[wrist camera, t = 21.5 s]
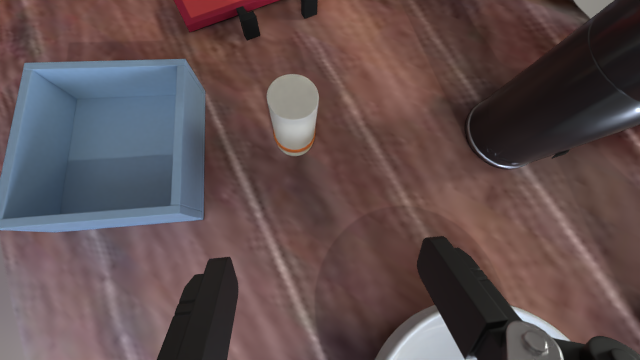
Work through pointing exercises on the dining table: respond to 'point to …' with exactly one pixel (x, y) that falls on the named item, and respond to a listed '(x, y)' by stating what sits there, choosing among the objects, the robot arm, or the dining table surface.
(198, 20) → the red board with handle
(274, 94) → the white cylinder orange band
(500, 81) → the dining table surface
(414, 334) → the serving bowl
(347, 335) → the dining table surface
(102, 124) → the tote
